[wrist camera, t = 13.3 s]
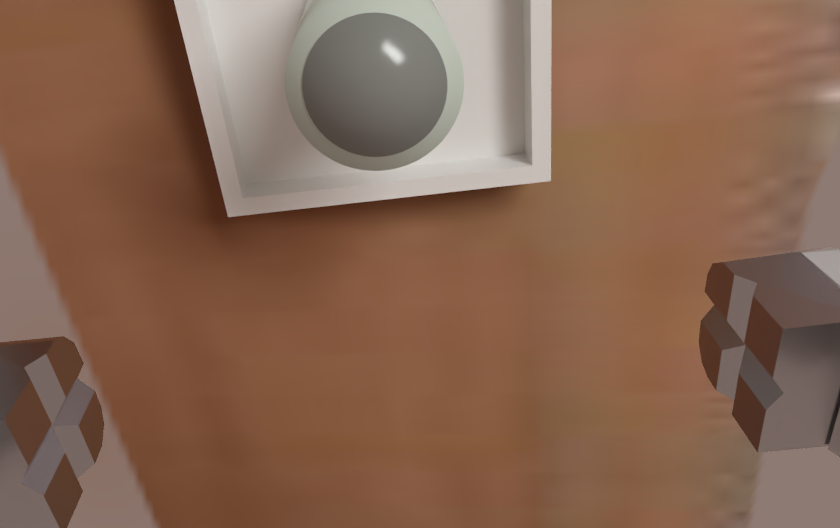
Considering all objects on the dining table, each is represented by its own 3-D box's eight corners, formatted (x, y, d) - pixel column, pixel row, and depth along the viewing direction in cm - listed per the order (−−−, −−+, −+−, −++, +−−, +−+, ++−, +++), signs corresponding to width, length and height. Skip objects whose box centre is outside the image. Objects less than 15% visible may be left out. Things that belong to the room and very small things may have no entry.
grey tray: (152, -160, 26) (134, -161, 24) (536, -199, 26) (551, -204, 24) (236, 193, 33) (228, 217, 31) (538, 159, 33) (550, 180, 31)
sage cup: (293, -39, 27) (267, 5, 19) (428, -54, 27) (458, -17, 19) (316, 95, 30) (302, 181, 22) (439, 80, 30) (469, 161, 22)
